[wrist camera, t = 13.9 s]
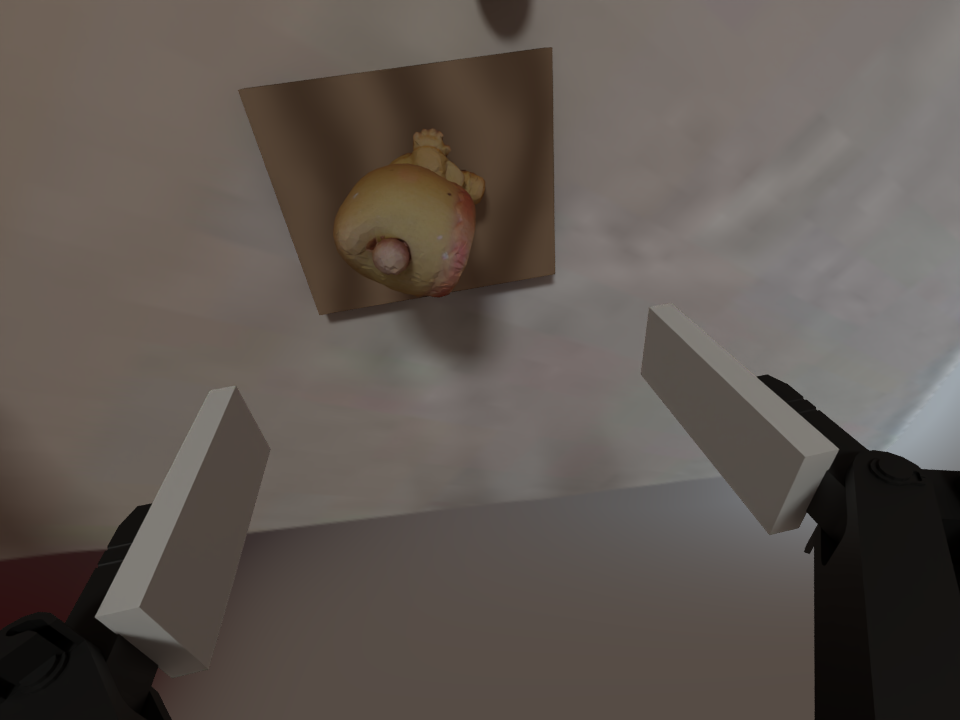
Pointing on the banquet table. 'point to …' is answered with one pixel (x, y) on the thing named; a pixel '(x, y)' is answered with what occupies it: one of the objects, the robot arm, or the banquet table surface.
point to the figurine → (411, 220)
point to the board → (389, 134)
